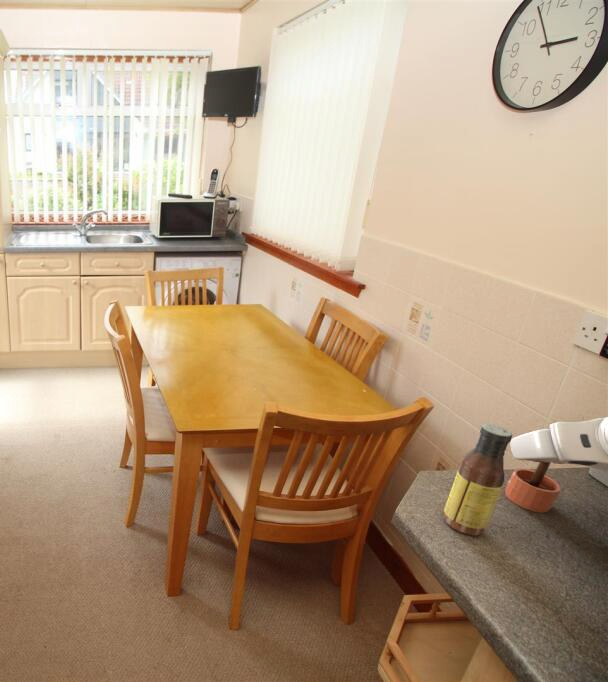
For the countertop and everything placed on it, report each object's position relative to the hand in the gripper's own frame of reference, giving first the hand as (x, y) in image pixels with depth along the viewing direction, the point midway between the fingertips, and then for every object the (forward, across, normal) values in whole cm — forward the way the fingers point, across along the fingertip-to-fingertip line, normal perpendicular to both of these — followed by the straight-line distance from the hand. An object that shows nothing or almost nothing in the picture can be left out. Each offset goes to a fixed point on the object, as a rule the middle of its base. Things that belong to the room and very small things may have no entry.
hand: (543, 458), depth 90 cm
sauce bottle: (0, +18, +13) cm, 22 cm away
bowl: (+6, 0, +7) cm, 10 cm away
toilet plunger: (+6, 0, +7) cm, 9 cm away
